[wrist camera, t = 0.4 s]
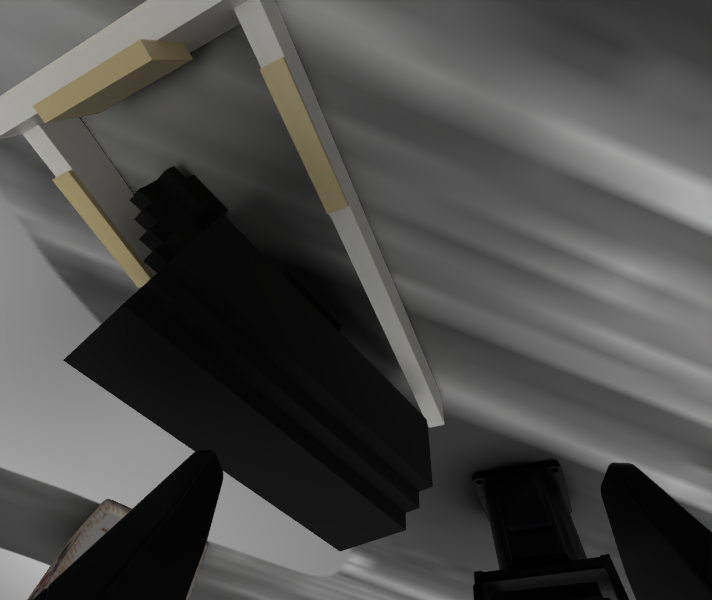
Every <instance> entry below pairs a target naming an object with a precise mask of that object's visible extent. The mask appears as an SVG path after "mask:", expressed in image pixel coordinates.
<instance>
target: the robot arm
mask: <svg viewBox="0 0 712 600" xmlns="http://www.w3.org/2000/svg"><path fill="white" fill-rule="evenodd" d="M222 481H223V470H222V468H221V465H220V463H219V460H218V458H217V455H216V453H215V452H214V451H212V450H198V451H196V452H194V453H193V454H192V455H191V456H190V457H189V458H188V459H187V460H185V461H184V462H183V463H182V464H181V465H180V466H179V467H178V468H177V469H176V470H174V471H173V472H172V473H171V474H170V475H169V476H168V477H167V478H166V479H165V480H163V481H162V482H161V483H160V484H159V485H158V486H157V487H156V488H155V489H154V490H152V491H151V492H150V493H149V494H148V495H147V496H146V497H145V498H144V499H143V500H141V501H140V502H139V503H138V504H137V505H136V506H135V507H134V508H133V509H132V510H130V511H129V512H128V513H127V514H126V515H125V516H124V517H123V518H122V519H121V520H119V521H118V522H117V523H116V524H115V525H114V526H113V527H112V528H111V529H110V530H108V531H107V532H106V533H105V534H104V535H103V536H102V537H101V538H100V539H99V540H97V541H96V542H95V543H94V544H93V545H92V546H91V547H90V548H89V549H88V550H86V551H85V552H84V553H83V554H82V555H81V556H80V557H79V558H78V559H77V560H75V561H74V562H73V563H72V564H71V565H70V566H69V567H68V568H67V569H66V570H64V571H63V572H62V573H61V574H60V575H59V576H58V577H57V578H56V579H55V580H53V581H52V582H51V583H50V584H49V586H48V588H45V589H43V590H42V591H41V592H40V593H39V594H38V595H37V596H36V597H35V598H34V599H32V600H186V597H187V595H188V592H189V589H190V587H191V584H192V581H193V579H194V576H195V573H196V570H197V568H198V565H199V562H200V560H201V557H202V554H203V551H204V548H205V545H206V542H207V538H208V535H209V531H210V527H211V523H212V519H213V515H214V512H215V508H216V504H217V500H218V496H219V493H220V489H221V485H222ZM472 482H473V485H474V487H475V490H476V492H477V494H478V497H479V499H480V501H481V504H482V506H483V508H484V511H485V513H486V515H487V518H488V520H489V522H490V525H491V530H492V534H493V539H494V544H495V549H496V554H497V559H498V564H499V569H500V570H497V571H489V572H483V571H477V572H474V579H475V584H474V585H473V590H474V600H629V598H628V596H627V594H626V592H625V589H624V587H623V585H622V583H621V580H620V578H619V576H618V574H617V571H616V569H615V567H614V565H613V562H612V560H611V558H610V555H609V554H606V555H600V557H596V558H589V559H587V557H586V555H585V552H584V549H583V547H582V544H581V541H580V539H579V536H578V533H577V531H576V528H575V526H574V523H573V520H572V518H571V515H570V513H571V512H572V509H571V505H570V500H569V496H568V492H567V488H566V484H565V480H564V475H563V471H562V468H561V466H560V464H559V463H558V462H555V461H552V462H546V463H539V464H533V465H527V466H521V467H515V468H509V469H503V470H496V471H490V472H484V473H478V474H474V475H473V476H472ZM601 495H602V499H603V502H604V506H605V509H606V512H607V515H608V519H609V522H610V525H611V528H612V532H613V535H614V538H615V541H616V545H617V548H618V551H619V554H620V558H621V561H622V564H623V567H624V570H625V573H626V576H627V578H628V581H629V583H630V586H631V588H632V591H633V593H634V595H635V598H636V600H712V532H711V531H710V530H709V529H708V528H707V527H706V526H705V525H703V524H702V523H701V522H700V521H699V520H698V519H696V518H695V517H694V516H693V515H692V514H691V513H689V512H688V511H687V510H686V509H685V508H684V507H682V506H681V505H680V504H679V503H678V502H677V501H676V500H674V499H673V498H672V497H671V496H670V495H669V494H667V493H666V492H665V491H664V490H663V489H662V488H660V487H659V486H658V485H657V484H656V483H655V482H654V481H652V480H651V479H650V478H649V477H648V476H647V475H645V474H644V473H643V472H642V471H641V470H640V469H638V468H637V467H636V466H634V465H633V464H630V463H611V464H610V465H609V466H608V469H607V471H606V474H605V477H604V479H603V482H602V484H601Z"/></svg>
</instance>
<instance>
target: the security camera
mask: <svg viewBox="0 0 712 600" xmlns="http://www.w3.org/2000/svg"><path fill="white" fill-rule="evenodd" d="M130 201H131V202H132V203H133V204H134V205H135V206H136V207H137V208H138V209H139V210H140V211H141V212H140V213H139V214H138V215H137V216H136V218H135V219H134V220H135V221H136V222H137V223H138V224H140V225H141V226H142V227H143V228H144V229H145V230H146V232H145V233H144V234H143V235H142V236H141V237H140V238H139V240H140V241H141V242H142V243H143V244H145V245H146V246H147V247H148V248H149V249H150V250H151V251H152V252H151V253H150V254H149V255H148V256H147V257H146V258H145V259H144V263H146V264H147V265H148V266H149V267H150V268H151V269H153V270H154V271H155V272H156V273H157V274H155V275H154V276H153V277H152V278H151V279H150V280H149V281H148V282H147V283H146V284H145V285H144V286H142V287H141V288H140V289H139V290H138V291H137V292H136V293H135V294H134V295H133V296H132V297H130V298H129V299H128V300H127V301H126V302H125V303H124V304H123V305H122V306H121V307H120V308H118V309H117V310H116V311H115V312H114V313H113V314H112V315H111V316H110V317H109V318H108V319H107V320H106V321H105V322H104V323H103V324H101V325H100V326H99V327H98V328H97V329H96V330H95V331H94V332H93V333H92V334H91V335H90V336H89V337H88V338H87V339H86V340H84V341H83V342H82V343H81V344H80V345H79V346H78V347H77V348H76V349H75V350H74V351H73V352H72V353H71V354H70V355H68V356H67V357H66V358H65V359H64V361H65V362H67V363H68V364H69V365H71V366H72V367H74V368H75V369H77V370H78V371H79V372H81V373H83V374H84V375H85V376H87V377H88V378H90V379H91V380H92V381H94V382H96V383H97V384H98V385H100V386H101V387H103V388H104V389H106V390H107V391H108V392H110V393H111V394H113V395H114V396H116V397H117V398H119V399H120V400H122V401H123V402H124V403H126V404H127V405H129V406H130V407H132V408H133V409H134V410H136V411H137V412H139V413H140V414H142V415H143V416H145V417H146V418H148V419H149V420H150V421H152V422H153V423H155V424H156V425H158V426H160V427H161V428H162V429H164V430H165V431H166V432H168V433H169V434H171V435H172V436H174V437H175V438H177V439H178V440H179V441H181V442H182V443H184V444H185V445H187V446H188V447H190V448H191V449H192V450H194V451H195V452H196V451H198V450H212V451H214V452H215V453H216V455H217V458H218V460H219V463H220V465H221V468H222V470H223V471H224V472H226V473H227V474H229V475H230V476H232V477H233V478H235V479H236V480H237V481H239V482H240V483H242V484H243V485H245V486H246V487H248V488H249V489H251V490H252V491H254V492H255V493H256V494H258V495H259V496H261V497H262V498H263V499H265V500H266V501H268V502H269V503H271V504H272V505H274V506H275V507H276V508H278V509H279V510H281V511H282V512H284V513H285V514H287V515H288V516H290V517H291V518H293V519H294V520H295V521H297V522H299V523H300V524H301V525H303V526H304V527H305V528H307V529H309V530H310V531H311V532H313V533H314V534H316V535H317V536H318V537H320V538H321V539H323V540H324V541H326V542H327V543H329V544H330V545H332V546H333V547H334V548H336V549H337V550H339V551H342V550H346V549H349V548H352V547H355V546H358V545H361V544H364V543H367V542H371V541H374V540H377V539H380V538H383V537H386V536H389V535H392V534H395V533H398V532H401V531H404V530H406V512H409V511H412V510H415V509H417V508H420V507H419V491H422V490H424V489H427V488H430V487H432V486H433V484H432V472H431V460H430V448H429V437H428V425H427V419H426V418H425V417H424V416H423V415H422V414H421V413H420V412H419V411H418V410H417V409H416V408H415V407H414V406H413V405H412V404H411V403H410V402H409V401H408V400H407V399H406V398H405V397H404V396H403V395H402V394H401V393H400V392H399V391H398V390H397V389H396V388H395V387H394V386H393V385H392V384H391V383H390V382H389V381H388V380H387V379H386V378H385V377H384V376H383V375H382V374H381V373H380V372H379V371H378V370H377V369H376V368H375V367H374V366H373V365H372V364H371V363H370V362H369V361H368V360H367V359H366V358H365V357H364V356H363V355H362V354H361V353H360V352H359V351H358V350H357V349H356V348H355V347H354V346H353V345H352V344H351V343H350V342H349V341H348V340H347V339H346V338H345V337H344V336H343V335H342V334H341V333H340V327H341V324H340V323H339V322H338V321H337V320H336V319H335V318H334V317H333V316H332V315H331V314H330V313H329V312H328V311H327V310H326V309H325V308H324V307H323V306H322V305H321V304H320V303H319V302H318V301H317V300H316V299H315V298H314V297H313V296H312V295H311V294H310V293H309V292H308V291H307V290H306V289H305V288H304V287H303V286H302V285H301V284H300V283H299V282H298V281H297V280H296V279H295V277H294V276H293V275H292V274H291V273H290V272H288V273H286V274H285V275H283V274H282V273H281V272H280V271H279V270H278V269H277V268H276V267H275V266H274V265H273V264H272V263H271V262H270V261H269V260H268V259H267V258H266V257H265V256H264V255H263V254H262V253H261V252H260V251H259V250H258V249H257V248H256V247H255V246H254V245H253V244H252V243H251V242H250V241H249V240H248V239H247V238H246V237H245V236H244V235H243V234H242V233H241V232H240V231H239V230H238V229H237V228H236V227H235V226H234V225H233V224H232V223H231V222H230V221H229V220H228V219H227V218H226V217H225V216H224V215H223V214H224V213H225V212H226V211H227V210H228V209H227V208H226V207H225V206H224V205H223V204H222V203H221V202H220V201H219V200H218V199H217V198H216V197H215V196H214V195H213V194H212V193H211V192H210V191H209V190H208V189H207V188H206V187H205V186H204V185H203V184H202V183H201V182H200V181H199V180H198V179H197V178H196V177H195V176H194V175H192V176H191V177H189V178H187V179H186V178H185V177H184V176H183V174H182V173H181V172H180V171H179V170H178V169H177V168H176V167H175V166H173V167H171V168H169V169H167V170H166V171H165V172H164V173H163V174H162V175H161V176H160V177H159V178H158V180H156V181H155V182H153V183H151V184H149V185H147V186H145V187H143V188H141V189H139V190H138V191H137V192H136V193H135V194H134V195H133V197H132V198H131V199H130Z"/></svg>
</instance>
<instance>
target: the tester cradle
mask: <svg viewBox="0 0 712 600" xmlns="http://www.w3.org/2000/svg"><path fill="white" fill-rule="evenodd" d="M239 24H241V26H242V28H243V30H244V32H245V34H246V37H247V39H248V41H249V43H250V45H251V47H252V49H253V52H254V54H255V56H256V58H257V60H258V62H259V64H260V67H261V69H259V70H260V72H261V74H262V76H263V78H264V80H265V82H266V85H267V87H268V89H269V91H270V93H271V95H272V97H273V100H274V102H275V104H276V106H277V108H278V110H279V112H280V114H281V117H282V119H283V121H284V123H285V125H286V127H287V129H288V131H289V134H290V136H291V138H292V140H293V142H294V144H295V146H296V149H297V151H298V153H299V155H300V157H301V159H302V161H303V163H304V166H305V168H306V170H307V172H308V174H309V176H310V178H311V180H312V183H313V185H314V187H315V189H316V191H317V193H318V195H319V198H320V200H321V202H322V204H323V206H324V208H325V210H326V212H327V215H328V214H330V217H331V219H332V221H333V223H334V225H335V227H336V229H337V232H338V234H339V236H340V238H341V240H342V242H343V244H344V247H345V249H346V251H347V253H348V255H349V257H350V259H351V262H352V264H353V266H354V268H355V270H356V272H357V274H358V277H359V279H360V281H361V283H362V285H363V287H364V289H365V292H366V294H367V296H368V298H369V300H370V302H371V304H372V307H373V309H374V311H375V313H376V315H377V317H378V319H379V322H380V324H381V326H382V328H383V330H384V332H385V334H386V337H387V339H388V341H389V343H390V345H391V347H392V349H393V352H394V354H395V356H396V358H397V360H398V362H399V364H400V367H401V369H402V371H403V373H404V375H405V377H406V379H407V382H408V384H409V386H410V388H411V390H412V392H413V394H414V397H415V399H416V401H417V403H418V405H419V407H420V409H421V412H422V414H423V416H424V417H425V418H426V419H427V424H428V427H429V428H431V427H436V426H441V425H445V423H444V416H443V408H442V400H441V394H440V392H439V390H438V387H437V385H436V382H435V380H434V378H433V375H432V373H431V371H430V368H429V366H428V363H427V361H426V359H425V356H424V354H423V351H422V349H421V347H420V344H419V342H418V340H417V337H416V335H415V332H414V330H413V328H412V325H411V323H410V320H409V318H408V316H407V313H406V311H405V309H404V306H403V304H402V301H401V299H400V297H399V294H398V292H397V289H396V287H395V285H394V282H393V280H392V278H391V275H390V273H389V270H388V268H387V266H386V263H385V261H384V259H383V256H382V254H381V251H380V249H379V247H378V244H377V242H376V239H375V237H374V235H373V232H372V230H371V228H370V225H369V223H368V220H367V218H366V216H365V213H364V211H363V208H362V206H361V204H360V201H359V199H358V197H357V194H356V192H355V189H354V187H353V185H352V182H351V180H350V177H349V175H348V173H347V170H346V168H345V166H344V163H343V161H342V158H341V156H340V154H339V151H338V149H337V146H336V144H335V142H334V139H333V137H332V135H331V132H330V130H329V127H328V125H327V123H326V120H325V118H324V115H323V113H322V111H321V108H320V106H319V104H318V101H317V99H316V96H315V94H314V92H313V89H312V87H311V85H310V82H309V80H308V77H307V75H306V73H305V70H304V68H303V65H302V63H301V61H300V58H299V56H298V54H297V51H296V49H295V46H294V44H293V42H292V39H291V37H290V34H289V32H288V30H287V27H286V25H285V23H284V20H283V18H282V15H281V13H280V11H279V8H278V6H277V3H276V1H275V0H147V1H145V2H144V3H142V4H141V5H139V6H138V7H136V8H135V9H133V10H132V11H130V12H129V13H127V14H125V15H124V16H122V17H121V18H119V19H118V20H116V21H115V22H113V23H112V24H110V25H109V26H107V27H106V28H104V29H102V30H101V31H99V32H98V33H96V34H95V35H93V36H92V37H90V38H89V39H87V40H86V41H84V42H83V43H81V44H79V45H78V46H76V47H75V48H73V49H72V50H70V51H69V52H67V53H66V54H64V55H63V56H61V57H60V58H58V59H56V60H55V61H53V62H52V63H50V64H49V65H47V66H46V67H44V68H43V69H41V70H40V71H38V72H37V73H35V74H33V75H32V76H30V77H29V78H27V79H26V80H24V81H23V82H21V83H20V84H18V85H17V86H15V87H14V88H12V89H10V90H9V91H7V92H6V93H4V94H3V95H1V96H0V139H3V138H8V137H13V136H17V135H22V134H23V135H24V137H25V138H26V139H27V141H28V142H29V143H30V144H31V146H32V147H33V148H34V149H35V151H36V152H37V153H38V155H39V156H40V157H41V158H42V160H43V161H44V162H45V163H46V165H47V166H48V167H49V168H50V170H51V171H52V172H53V174H54V175H55V176H56V178H54V179H53V182H54V183H55V184H56V185H57V187H58V188H59V189H60V190H61V192H62V193H63V194H64V195H65V197H66V198H67V199H68V200H69V202H70V203H71V204H72V205H73V207H74V208H75V209H76V210H77V212H78V213H79V214H80V215H81V217H82V218H83V219H84V220H85V222H86V223H87V224H88V225H89V227H90V228H91V229H92V230H93V232H94V233H95V234H96V235H97V237H98V238H99V239H100V240H101V242H102V243H103V244H104V246H105V247H106V248H107V249H108V251H109V252H110V253H111V254H112V256H113V257H114V258H115V259H116V261H117V262H118V263H119V264H120V266H121V267H122V268H123V269H124V271H125V272H126V273H127V274H128V276H129V277H130V278H131V279H132V281H133V282H134V283H135V284H136V286H137V287H138V288H140V287H142V286H144V285H145V284H146V283H147V282H148V281H149V280H150V279H151V278H152V277H153V276H154V275H155V274H157V273H156V272H155V271H154V270H153V269H151V268H150V267H149V266H148V265H147V264H146V263H144V259H145V258H146V257H147V256H148V255H149V254H150V253H151V252H152V251H151V250H150V249H149V248H148V247H147V246H146V245H145V244H143V243H142V242H141V241H140V240H139V238H140V237H141V236H142V235H143V234H144V233H145V232H146V230H145V229H144V228H143V227H142V226H141V225H140V224H138V223H137V222H136V221H135V220H134V219H135V218H136V216H137V215H138V214H139V213H140V212H141V211H140V210H139V209H138V208H137V207H136V206H135V205H134V204H133V203H132V202H131V201H130V199H131V198H132V197H133V195H134V194H133V193H132V191H131V190H130V188H129V187H128V186H127V184H126V183H125V181H124V180H123V178H122V177H121V176H120V174H119V173H118V171H117V170H116V169H115V167H114V166H113V164H112V163H111V161H110V160H109V159H108V157H107V156H106V154H105V153H104V152H103V150H102V149H101V147H100V146H99V144H98V143H97V142H96V140H95V139H94V137H93V136H92V135H91V133H90V132H89V130H88V129H87V127H86V126H85V125H84V123H83V122H82V120H81V119H80V118H79V117H81V116H87V115H92V114H97V113H100V112H102V111H104V110H105V109H107V108H109V107H111V106H112V105H114V104H116V103H118V102H119V101H121V100H123V99H125V98H126V97H128V96H130V95H132V94H133V93H135V92H137V91H139V90H140V89H142V88H144V87H146V86H147V85H149V84H151V83H153V82H154V81H156V80H158V79H160V78H161V77H163V76H165V75H167V74H168V73H170V72H172V71H174V70H175V69H177V68H179V67H181V66H182V65H184V64H186V63H188V62H189V61H191V60H193V58H192V56H191V54H190V53H191V52H192V51H194V50H196V49H198V48H199V47H201V46H203V45H205V44H206V43H208V42H210V41H211V40H213V39H215V38H217V37H218V36H220V35H222V34H224V33H225V32H227V31H229V30H230V29H232V28H234V27H236V26H237V25H239Z"/></svg>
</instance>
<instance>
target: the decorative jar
mask: <svg viewBox="0 0 712 600" xmlns="http://www.w3.org/2000/svg"><path fill="white" fill-rule="evenodd" d="M130 510H132V509H131V508H129V507H127V506H125V505H122V504H120V503H118V502H116V501H113V500H110V499H107V500H105V501H104V502H103V503H101V504H100V505H99V506H98V507H97V509H96V510H95V511H94V512H93V514H92V515H91V516H90V517H89V518H88V519H87V520H86V521H85V522H84V523H83V524H82V526H81V527H80V528H79V529H78V530H77V531H76V532H75V534H74V535H73V536H72V537H71V538H70V539H69V541H68V542H67V543H66V545H65V546H64V547H63V549H62V550H61V551H60V553H59V554H58V556H57V557H56V558H55V560H54V561H53V563H52V565H51V566H50V567H49V569H48V570H47V572H46V573H45V575H44V576H43V578H42V579H41V581H40V582H39V584H38V585H37V587H36V588H35V590H34V591H33V592H32V594H31V595H30V597H29V598H28V600H32V599H34V598H35V597H36V596H37V595H38V594H39V593H40V592H41V591H42V590H43V589H45V588H48V586H49V584H50V583H51V582H52V581H53V580H55V579H56V578H57V577H58V576H59V575H60V574H61V573H62V572H63V571H64V570H66V569H67V568H68V567H69V566H70V565H71V564H72V563H73V562H74V561H75V560H77V559H78V558H79V557H80V556H81V555H82V554H83V553H84V552H85V551H86V550H88V549H89V548H90V547H91V546H92V545H93V544H94V543H95V542H96V541H97V540H99V539H100V538H101V537H102V536H103V535H104V534H105V533H106V532H107V531H108V530H110V529H111V528H112V527H113V526H114V525H115V524H116V523H117V522H118V521H119V520H121V519H122V518H123V517H124V516H125V515H126V514H127V513H128V512H129V511H130ZM207 547H208V543H206V545H205V548H204V551H203V554H202V557H201V560H200V562H199V565H198V568H197V570H196V573H195V576H194V579H193V581H192V584H191V587H190V589H189V592H188V595H187V597H186V600H189V597H190V594H191V591H192V589H193V586H194V583H195V581H196V578H197V575H198V573H199V569H200V567H201V564H202V561H203V559H204V556H205V553H206V551H207Z"/></svg>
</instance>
